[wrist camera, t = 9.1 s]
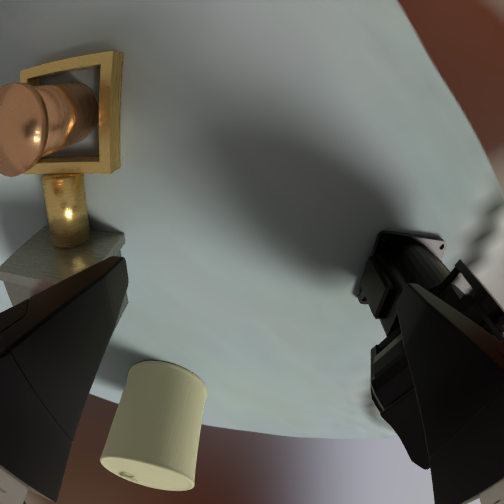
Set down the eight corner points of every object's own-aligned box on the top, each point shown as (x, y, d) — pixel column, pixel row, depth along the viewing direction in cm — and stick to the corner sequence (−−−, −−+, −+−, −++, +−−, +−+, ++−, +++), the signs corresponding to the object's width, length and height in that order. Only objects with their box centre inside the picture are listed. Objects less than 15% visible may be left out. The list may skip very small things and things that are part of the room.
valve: (119, 168, 19) (43, 223, 11) (133, 303, 25) (95, 386, 17) (35, 168, 19) (-45, 216, 11) (60, 290, 25) (12, 358, 17)
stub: (104, 74, 16) (41, 75, 10) (102, 146, 19) (44, 175, 12) (46, 83, 16) (-20, 93, 10) (47, 149, 18) (-14, 177, 12)
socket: (123, 52, 15) (112, 50, 14) (120, 167, 19) (110, 173, 18) (33, 69, 15) (20, 70, 14) (35, 168, 19) (23, 174, 18)
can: (113, 373, 31) (81, 461, 20) (164, 349, 28) (133, 458, 18) (169, 413, 34) (153, 495, 24) (224, 395, 32) (215, 493, 21)
